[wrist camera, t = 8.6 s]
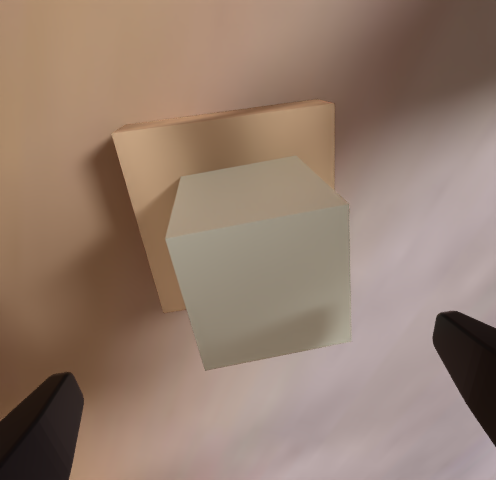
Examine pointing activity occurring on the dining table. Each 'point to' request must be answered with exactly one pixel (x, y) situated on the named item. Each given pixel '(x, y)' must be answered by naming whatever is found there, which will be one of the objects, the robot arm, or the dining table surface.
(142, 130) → the oak block
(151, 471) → the dining table surface
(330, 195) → the sage cube
